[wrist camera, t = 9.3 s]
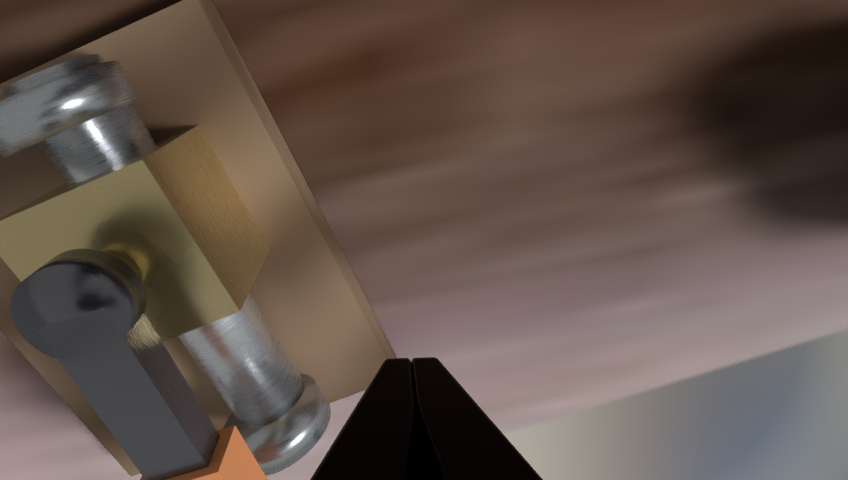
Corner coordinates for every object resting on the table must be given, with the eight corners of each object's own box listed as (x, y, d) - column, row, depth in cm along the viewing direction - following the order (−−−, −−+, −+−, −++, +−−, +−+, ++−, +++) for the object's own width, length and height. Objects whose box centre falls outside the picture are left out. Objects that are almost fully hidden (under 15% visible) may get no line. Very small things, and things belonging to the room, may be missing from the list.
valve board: (-116, 144, 19) (-370, 212, 12) (209, -5, 18) (111, -13, 11) (144, 450, 25) (63, 599, 19) (396, 356, 24) (400, 481, 18)
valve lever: (26, 260, 14) (-23, 295, 12) (119, 231, 13) (82, 262, 12) (221, 540, 18) (204, 593, 16) (292, 520, 18) (283, 572, 16)
